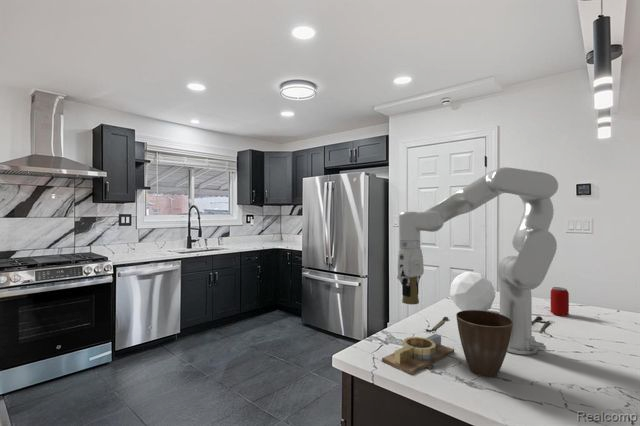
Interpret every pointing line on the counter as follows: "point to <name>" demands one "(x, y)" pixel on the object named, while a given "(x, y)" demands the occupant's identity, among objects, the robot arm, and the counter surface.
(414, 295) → the cork
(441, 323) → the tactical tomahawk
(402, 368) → the board with octagonal collar
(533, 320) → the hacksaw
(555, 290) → the beverage can
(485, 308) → the ball
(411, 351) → the ring bracket
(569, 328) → the counter surface
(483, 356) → the plant pot
